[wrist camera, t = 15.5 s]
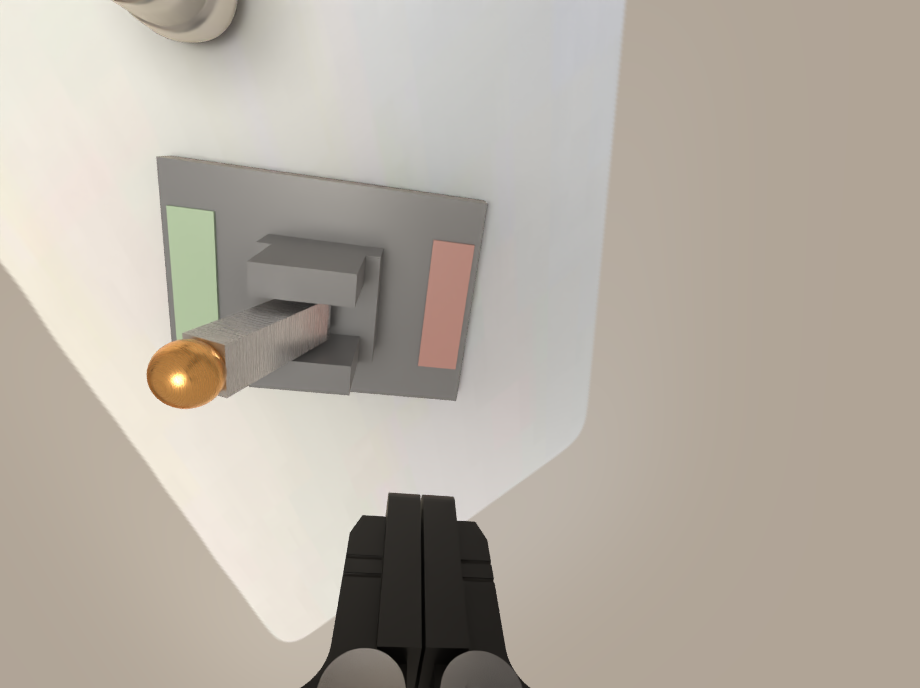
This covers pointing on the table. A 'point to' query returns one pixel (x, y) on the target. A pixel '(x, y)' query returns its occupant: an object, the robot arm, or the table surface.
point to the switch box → (327, 270)
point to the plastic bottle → (183, 17)
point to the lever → (235, 351)
